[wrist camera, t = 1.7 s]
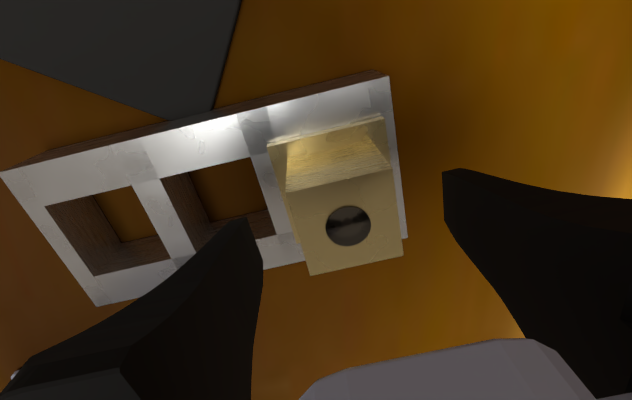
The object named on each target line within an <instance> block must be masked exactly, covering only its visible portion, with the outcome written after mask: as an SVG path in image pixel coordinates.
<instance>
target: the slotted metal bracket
mask: <svg viewBox="0 0 632 400" xmlns="http://www.w3.org/2000/svg"><path fill="white" fill-rule="evenodd" d="M380 116H383V117H384V118H385V123H386V131H387V139H388V147H389V154H390V162H391V167H392V168H393V176H394V184H395V191H396V199H397V207H398V215H399V223H400V231H401V239H404V238H408V235H407V227H406V218H405V210H404V201H403V192H402V184H401V175H400V167H399V158H398V149H397V141H396V132H395V124H394V115H393V106H392V98H391V89H390V81H389V76H388V75H385V74H383V73H380V72H378V71H375V70H369V71H365V72H361V73H357V74H353V75H349V76H345V77H341V78H337V79H333V80H329V81H325V82H321V83H317V84H312V85H308V86H304V87H300V88H296V89H292V90H288V91H284V92H280V93H276V94H272V95H268V96H264V97H260V98H256V99H252V100H248V101H244V102H240V103H236V104H232V105H228V106H224V107H220V108H216V109H212V110H211V111H209V112H206V113H202V114H198V115H194V116H190V117H186V118H182V119H178V120H174V121H169V120H168V121H164V122H160V123H156V124H152V125H148V126H144V127H140V128H136V129H132V130H128V131H124V132H120V133H116V134H112V135H108V136H104V137H100V138H96V139H92V140H88V141H84V142H80V143H76V144H72V145H68V146H64V147H60V148H56V149H52V150H48V151H45V152H43V153H40V154H38V155H36V156H34V157H32V158H29V159H27V160H25V161H23V162H21V163H18V164H16V165H14V166H12V167H10V168H7V169H5V170H3V171H1V172H0V177H1V178H2V180H3V181H4V182H5V184H6V185H7V186H8V188H9V189H10V190H11V192H12V193H13V195H14V196H15V197H16V199H17V200H18V201H19V203H20V204H21V205H22V207H23V208H24V209H25V211H26V212H27V213H28V215H29V216H30V218H31V219H32V220H33V222H34V223H35V224H36V226H37V227H38V228H39V230H40V231H41V232H42V234H43V235H44V236H45V238H46V239H47V241H48V242H49V243H50V245H51V246H52V247H53V249H54V250H55V251H56V253H57V254H58V255H59V257H60V258H61V259H62V261H63V262H64V264H65V265H66V266H67V268H68V269H69V270H70V272H71V273H72V274H73V276H74V277H75V278H76V280H77V281H78V282H79V284H80V285H81V287H82V288H83V289H84V291H85V292H86V293H87V295H88V296H89V297H90V299H91V300H92V301H93V303H94V304H95V305H96V307H98V306H103V305H107V304H112V303H116V302H121V301H125V300H130V299H134V298H139V297H142V296H143V295H145V294H147V293H148V292H150V291H151V290H152V289H154V288H155V287H156V286H158V285H159V284H160V283H162V282H163V281H164V280H166V279H167V278H168V277H170V276H171V275H172V274H173V273H174V272H176V271H177V270H178V269H179V268H180V267H181V266H183V265H184V264H185V263H186V262H187V261H188V260H189V259H190V258H191V257H192V256H194V255H195V254H196V253H197V252H198V251H199V250H200V249H201V248H202V247H203V246H204V245H205V244H206V243H207V242H208V241H209V240H210V239H211V238H212V237H213V236H214V235H215V234H216V233H217V232H218V231H219V230H220V229H221V228H222V227H223V226H225V225H226V224H227V223H228V222H229V221H231V220H235V219H239V218H244V217H247V219H248V222H249V225H250V227H251V230H252V233H253V235H254V238H255V240H256V243H257V246H258V248H259V251H260V254H261V256H262V259H263V270H265V269H269V268H274V267H278V266H283V265H287V264H292V263H296V262H301V261H305V257H304V253H303V250H302V247H301V244H300V243H298V244H297V243H296V240H295V237H294V234H293V231H292V227H291V224H290V221H289V218H288V214H287V211H286V208H285V205H284V202H283V198H282V195H281V192H280V189H279V186H278V182H277V179H276V176H275V173H274V169H273V166H272V163H271V160H270V157H269V153H268V150H267V144H268V143H272V142H276V141H281V140H285V139H289V138H293V137H297V136H301V135H305V134H310V133H314V132H318V131H322V130H326V129H330V128H334V127H338V126H343V125H347V124H351V123H355V122H359V121H363V120H367V119H372V118H376V117H380ZM247 157H251V160H252V163H253V166H254V169H255V172H256V175H257V178H258V181H259V184H260V186H261V189H262V192H263V195H264V198H265V201H266V204H267V207H268V209H267V210H263V211H259V212H254V213H250V214H246V215H241V216H237V217H233V218H228V219H224V220H220V221H216V222H211V223H210V221H209V219H208V217H207V215H206V212H205V210H204V208H203V206H202V203H201V201H200V199H199V197H198V194H197V192H196V190H195V188H194V185H193V183H192V181H191V179H190V176H189V174H188V172H189V171H193V170H197V169H201V168H205V167H209V166H214V165H218V164H222V163H226V162H230V161H234V160H239V159H243V158H247ZM130 185H132V187H133V189H134V190H135V192H136V194H137V196H138V198H139V200H140V201H141V203H142V205H143V207H144V209H145V211H146V213H147V214H148V216H149V218H150V220H151V222H152V224H153V225H154V227H155V229H156V231H157V233H158V235H155V236H151V237H146V238H142V239H138V240H133V241H129V242H125V243H121V242H120V240H119V238H118V237H117V235H116V233H115V232H114V230H113V229H112V227H111V225H110V224H109V222H108V220H107V219H106V217H105V216H104V214H103V212H102V211H101V209H100V207H99V206H98V204H97V202H96V201H95V199H94V198H93V196H92V195H93V194H97V193H101V192H106V191H110V190H114V189H118V188H122V187H126V186H130Z"/></svg>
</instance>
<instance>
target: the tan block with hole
mask: <svg viewBox="0 0 632 400" xmlns="http://www.w3.org/2000/svg"><path fill="white" fill-rule="evenodd" d="M267 150H268V153H269V157H270V160H271V163H272V166H273V169H274V173H275V176H276V179H277V182H278V186H279V189H280V192H281V195H282V198H283V202H284V205H285V208H286V211H287V214H288V218H289V221H290V224H291V227H292V231H293V234H294V237H295V240H296V243H297V244H298V243H300V244H301V247H302V250H303V253H304V257H305V260H306V263H307V267H308V270H309V273H310V276H313V275H317V274H322V273H326V272H331V271H335V270H340V269H344V268H349V267H354V266H358V265H363V264H367V263H372V262H376V261H381V260H385V259H390V258H395V257H399V256H404V254H403V247H402V239H401V231H400V223H399V215H398V207H397V199H396V191H395V184H394V176H393V168H392V167H391V162H390V154H389V147H388V139H387V131H386V123H385V118H384V117H383V116H380V117H376V118H372V119H367V120H363V121H359V122H355V123H351V124H347V125H343V126H338V127H334V128H330V129H326V130H322V131H318V132H314V133H310V134H305V135H301V136H297V137H293V138H289V139H285V140H281V141H276V142H272V143H268V144H267Z"/></svg>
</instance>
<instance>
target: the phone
mask: <svg viewBox="0 0 632 400" xmlns="http://www.w3.org/2000/svg"><path fill="white" fill-rule="evenodd" d="M241 1H242V0H0V59H3V60H5V61H8V62H11V63H13V64H16V65H19V66H22V67H24V68H27V69H30V70H33V71H35V72H38V73H41V74H43V75H46V76H49V77H52V78H54V79H57V80H60V81H63V82H65V83H68V84H71V85H74V86H76V87H79V88H82V89H84V90H87V91H90V92H93V93H95V94H98V95H101V96H104V97H106V98H109V99H112V100H114V101H117V102H120V103H123V104H125V105H128V106H131V107H134V108H136V109H139V110H142V111H145V112H147V113H150V114H153V115H155V116H158V117H161V118H164V119H166V120H169V121H174V120H178V119H182V118H186V117H190V116H194V115H198V114H202V113H206V112H209V111H211V110H212V109H213V106H214V103H215V99H216V96H217V92H218V88H219V85H220V81H221V77H222V73H223V70H224V66H225V62H226V59H227V55H228V51H229V47H230V44H231V40H232V36H233V32H234V29H235V25H236V21H237V17H238V13H239V10H240V5H241Z"/></svg>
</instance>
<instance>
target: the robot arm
mask: <svg viewBox="0 0 632 400" xmlns="http://www.w3.org/2000/svg"><path fill="white" fill-rule="evenodd" d="M442 183H443V203H444V221H445V223H446V224H447V226H448V228H449V230H450V232H451V233H452V235H453V237H454V238H455V240H456V242H457V243H458V244H459V246H460V247H461V248H462V249H463V251H464V252H465V253H466V254H467V256H468V257H469V258H470V259H471V261H472V262H473V263H474V264H475V266H476V267H477V268H478V269H479V271H480V272H481V273H482V274H483V276H484V277H485V278H486V279H487V280H488V282H489V283H490V284H491V285H492V287H493V288H494V289H495V291H496V292H497V293H498V295H499V296H500V297H501V299H502V300H503V302H504V304H505V305H506V307H507V308H508V310H509V311H510V313H511V315H512V316H513V318H514V319H515V321H516V322H517V324H518V326H519V327H520V329H521V331H522V332H523V334H524V336H525V337H526V338H513V339H491V340H486V341H481V342H476V343H471V344H466V345H461V346H456V347H451V348H446V349H441V350H436V351H431V352H426V353H421V354H416V355H411V356H406V357H401V358H396V359H391V360H386V361H381V362H376V363H371V364H366V365H361V366H356V367H351V368H346V369H344V370H341V371H339V372H336V373H333V374H331V375H328V376H326V377H323V378H321V379H318V380H317V381H316V382H315V383H314V384H313V385H312V386H311V387H310V388H309V389H308V390H307V391H306V392H305V393H304V394H303V395H302V396H301V397H300V399H299V400H632V199H622V198H610V197H599V196H590V195H582V194H575V193H568V192H561V191H555V190H550V189H545V188H540V187H536V186H531V185H526V184H522V183H518V182H514V181H510V180H506V179H502V178H499V177H495V176H491V175H488V174H484V173H480V172H476V171H472V170H468V169H462V168H458V169H453V170H449V171H444V172H442ZM262 287H263V259H262V256H261V254H260V251H259V248H258V246H257V243H256V240H255V238H254V235H253V233H252V230H251V227H250V225H249V222H248V219H247V217H244V218H239V219H235V220H231V221H229V222H228V223H227V224H226V225H225V226H223V227H222V228H221V229H220V230H219V231H218V232H217V233H216V234H215V235H214V236H213V237H212V238H211V239H210V240H209V241H208V242H207V243H206V244H205V245H204V246H203V247H202V248H201V249H200V250H199V251H198V252H197V253H196V254H195V255H194V256H192V257H191V258H190V259H189V260H188V261H187V262H186V263H185V264H184V265H183V266H181V267H180V268H179V269H178V270H177V271H176V272H174V273H173V274H172V275H171V276H170V277H168V278H167V279H166V280H164V281H163V282H162V283H160V284H159V285H158V286H156V287H155V288H154V289H152V290H151V291H150V292H148V293H147V294H145V295H143V296H142V297H140V298H139V299H137V300H136V301H134V302H133V303H131V304H130V305H128V306H127V307H125V308H124V309H122V310H120V311H119V312H117V313H115V314H114V315H112V316H110V317H109V318H107V319H105V320H103V321H102V322H100V323H98V324H96V325H94V326H92V327H91V328H89V329H87V330H85V331H83V332H81V333H79V334H77V335H75V336H73V337H71V338H69V339H67V340H65V341H63V342H61V343H59V344H57V345H55V346H53V347H51V348H49V349H46V350H44V351H42V352H40V353H38V354H36V355H33V356H32V357H30V358H29V359H28V361H27V362H26V363H25V364H24V365H23V367H22V368H21V369H20V370H17V371H15V372H14V373H13V375H12V376H11V379H12V380H11V381H10V382H9V383H8V385H7V386H6V387H5V388H4V389H3V391H2V392H1V393H0V400H251V375H252V356H253V344H254V336H255V330H256V324H257V318H258V312H259V306H260V300H261V293H262Z"/></svg>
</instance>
